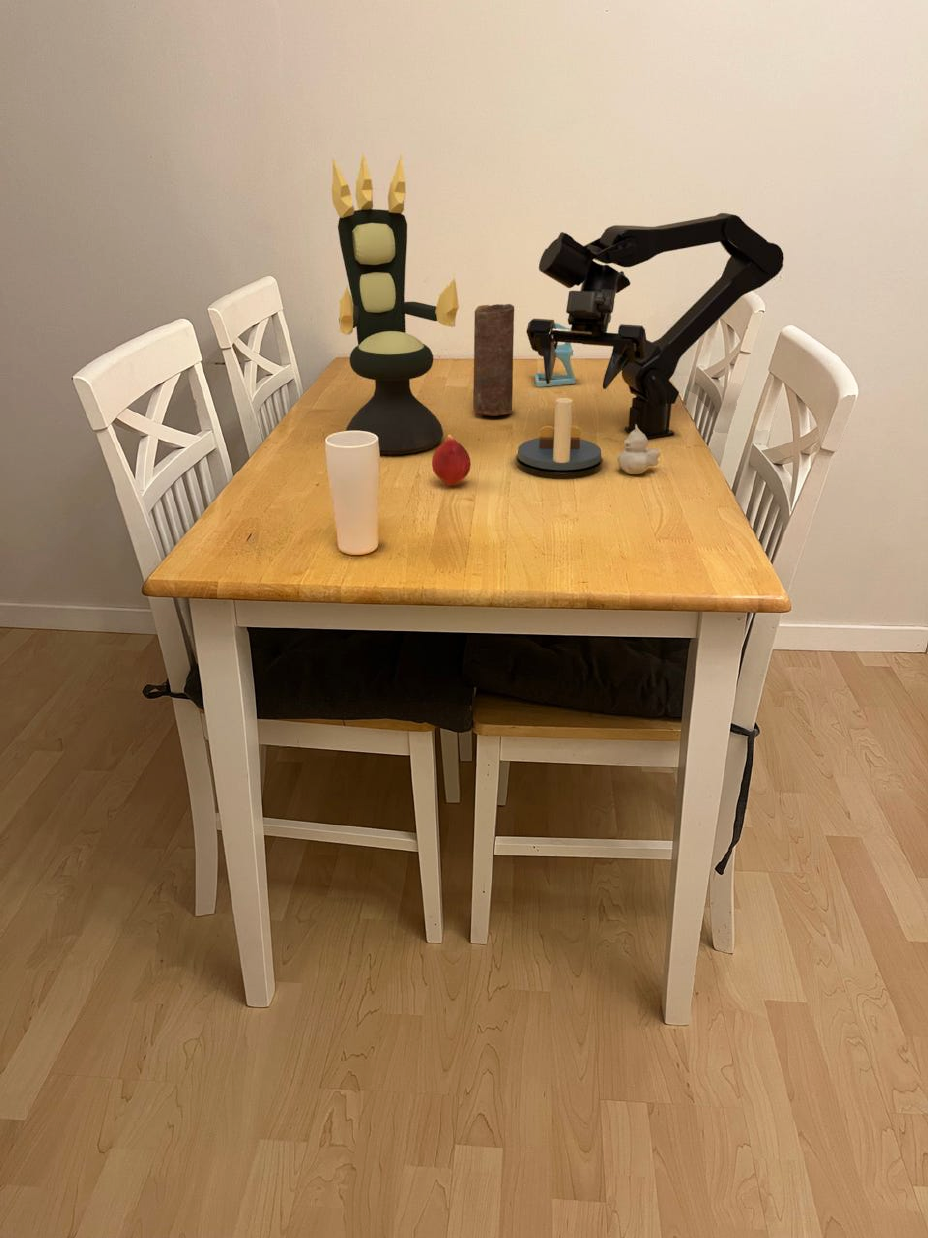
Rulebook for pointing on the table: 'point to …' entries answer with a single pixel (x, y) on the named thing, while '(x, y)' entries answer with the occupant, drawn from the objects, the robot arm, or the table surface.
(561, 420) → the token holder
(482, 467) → the table surface
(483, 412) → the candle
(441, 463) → the onion
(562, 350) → the chair
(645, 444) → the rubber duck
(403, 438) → the black throne
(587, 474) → the turntable base
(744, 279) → the robot arm
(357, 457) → the drinking glass
